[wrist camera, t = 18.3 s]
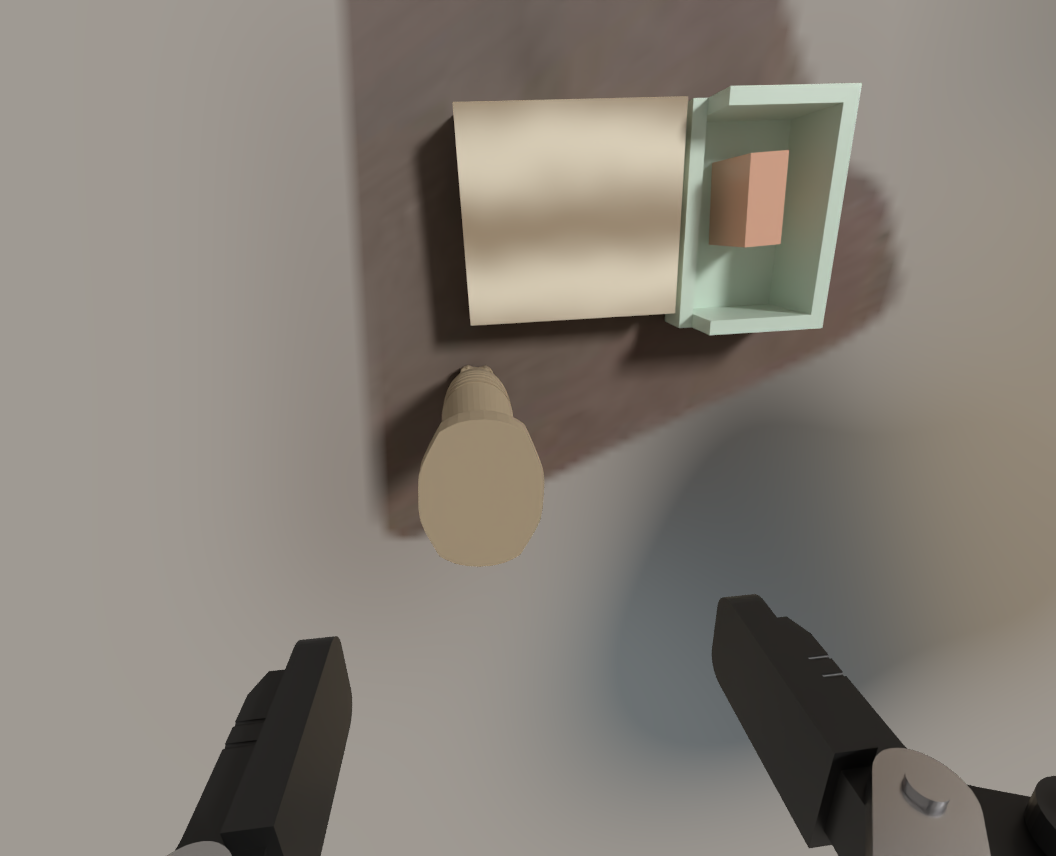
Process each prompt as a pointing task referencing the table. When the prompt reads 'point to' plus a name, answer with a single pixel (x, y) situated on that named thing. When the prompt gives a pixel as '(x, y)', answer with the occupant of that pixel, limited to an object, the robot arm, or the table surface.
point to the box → (808, 220)
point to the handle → (480, 475)
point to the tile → (748, 199)
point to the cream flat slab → (570, 206)
